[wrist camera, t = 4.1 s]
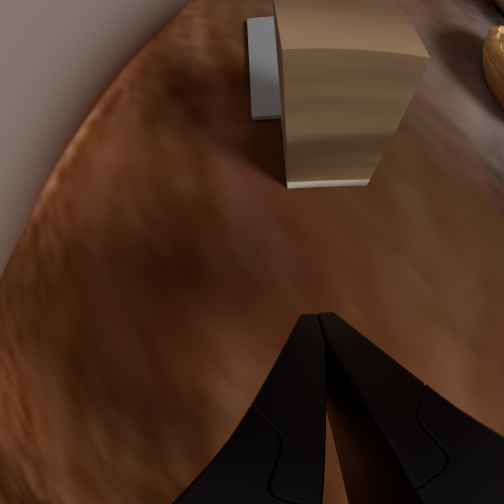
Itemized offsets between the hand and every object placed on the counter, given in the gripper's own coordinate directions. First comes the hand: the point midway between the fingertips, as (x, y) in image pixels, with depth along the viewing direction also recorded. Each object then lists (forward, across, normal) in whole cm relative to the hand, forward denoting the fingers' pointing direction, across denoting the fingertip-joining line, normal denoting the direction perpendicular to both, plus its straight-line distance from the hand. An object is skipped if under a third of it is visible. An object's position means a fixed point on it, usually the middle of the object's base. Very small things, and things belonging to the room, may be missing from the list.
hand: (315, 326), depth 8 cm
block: (+12, +2, +2) cm, 12 cm away
